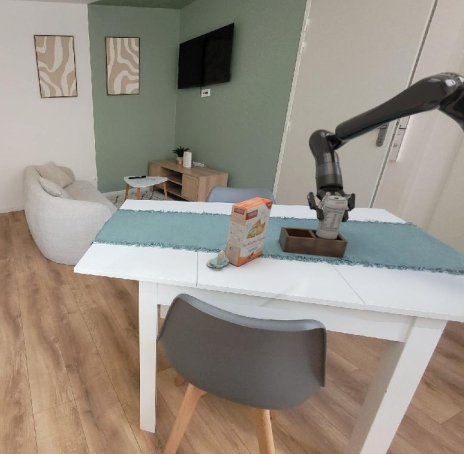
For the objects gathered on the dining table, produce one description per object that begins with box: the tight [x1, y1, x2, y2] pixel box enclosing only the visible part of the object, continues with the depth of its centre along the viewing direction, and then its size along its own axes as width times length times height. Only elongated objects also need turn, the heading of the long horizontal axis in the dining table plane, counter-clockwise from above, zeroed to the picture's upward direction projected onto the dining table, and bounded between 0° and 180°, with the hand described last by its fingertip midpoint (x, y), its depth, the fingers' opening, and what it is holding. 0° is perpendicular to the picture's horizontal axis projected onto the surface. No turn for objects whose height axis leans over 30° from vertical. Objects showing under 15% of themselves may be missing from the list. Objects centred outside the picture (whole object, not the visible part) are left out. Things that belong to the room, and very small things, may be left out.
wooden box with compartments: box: [278, 226, 349, 259], centre depth 105 cm, size 18×10×6 cm, turn 71°
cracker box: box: [224, 196, 274, 267], centre depth 99 cm, size 14×6×21 cm, turn 122°
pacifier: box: [206, 249, 229, 269], centre depth 98 cm, size 7×6×6 cm
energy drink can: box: [316, 196, 347, 240], centre depth 100 cm, size 6×6×15 cm
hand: (332, 220), depth 99 cm, fingers closed on energy drink can, 6 cm apart
